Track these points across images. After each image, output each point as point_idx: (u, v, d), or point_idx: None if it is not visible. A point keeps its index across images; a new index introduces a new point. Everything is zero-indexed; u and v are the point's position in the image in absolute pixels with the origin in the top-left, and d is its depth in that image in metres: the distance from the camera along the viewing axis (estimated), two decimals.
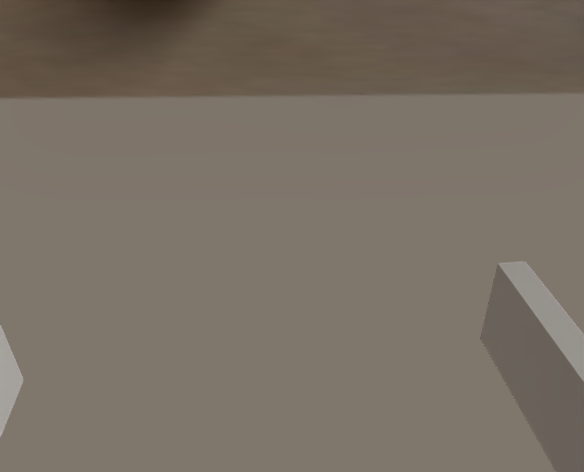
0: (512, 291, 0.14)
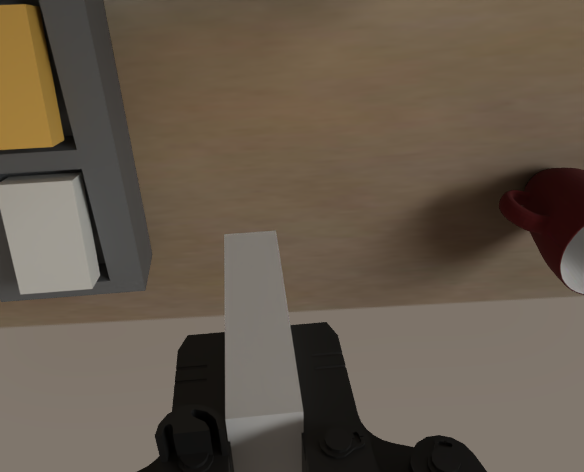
0: (252, 256, 0.15)
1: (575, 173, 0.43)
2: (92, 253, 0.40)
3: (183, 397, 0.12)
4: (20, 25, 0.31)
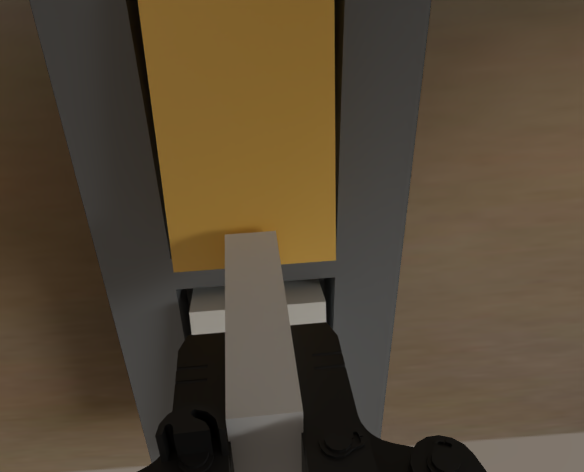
0: (252, 256, 0.15)
1: None
2: None
3: (183, 397, 0.12)
4: (316, 22, 0.14)
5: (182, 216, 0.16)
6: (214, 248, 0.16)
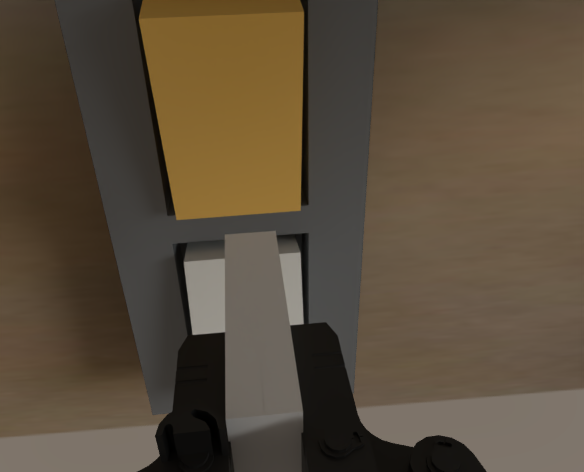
0: (252, 256, 0.15)
1: None
2: None
3: (183, 397, 0.12)
4: (288, 46, 0.17)
5: (182, 183, 0.20)
6: (207, 204, 0.21)
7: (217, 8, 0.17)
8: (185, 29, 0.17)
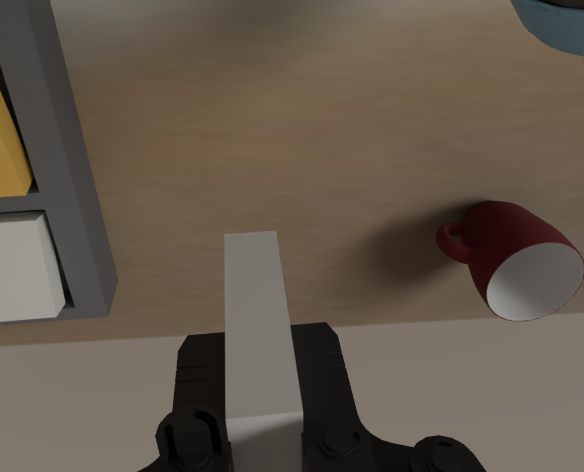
0: (252, 256, 0.15)
1: (505, 208, 0.46)
2: (57, 284, 0.43)
3: (183, 397, 0.12)
4: None
5: None
6: None
7: None
8: None
